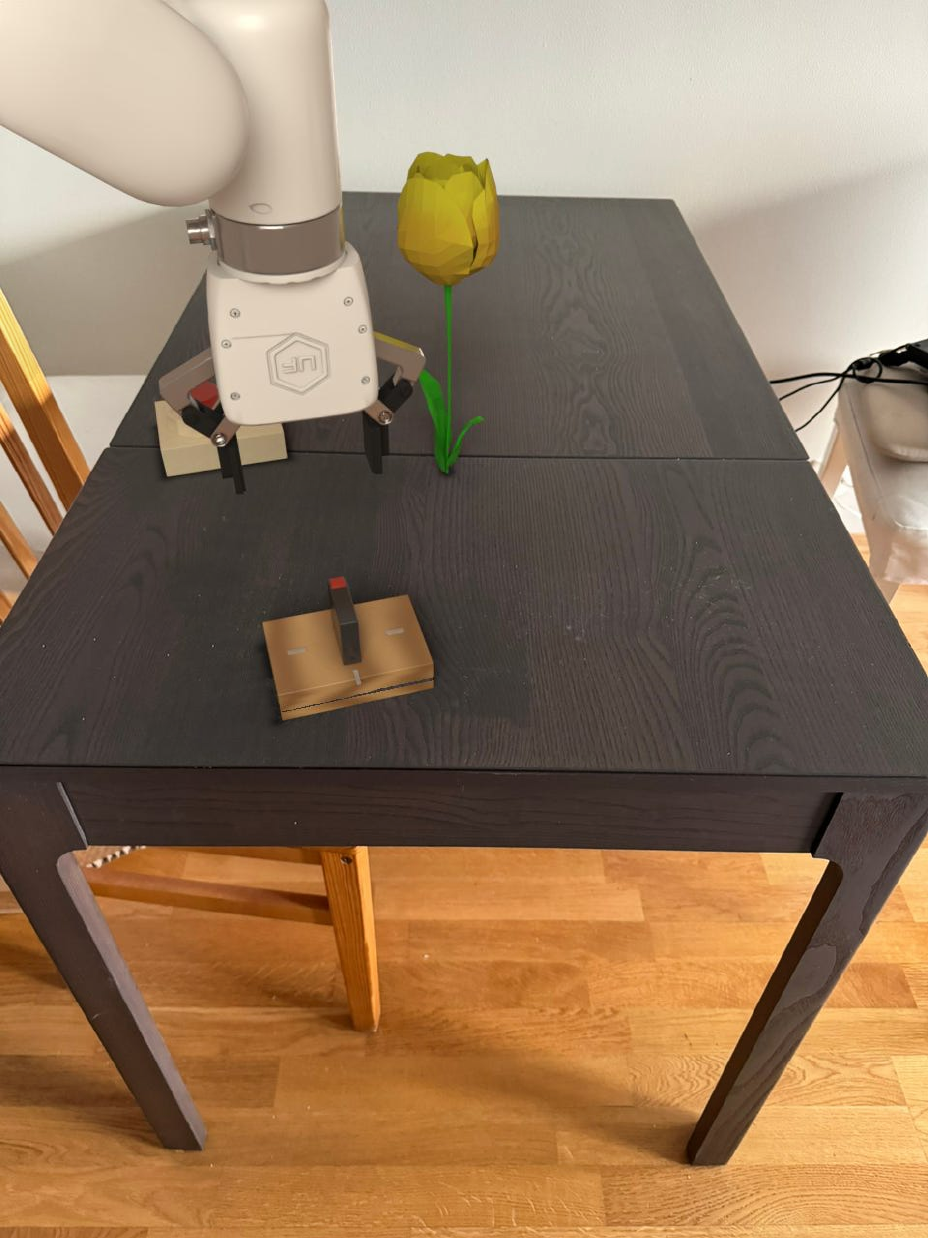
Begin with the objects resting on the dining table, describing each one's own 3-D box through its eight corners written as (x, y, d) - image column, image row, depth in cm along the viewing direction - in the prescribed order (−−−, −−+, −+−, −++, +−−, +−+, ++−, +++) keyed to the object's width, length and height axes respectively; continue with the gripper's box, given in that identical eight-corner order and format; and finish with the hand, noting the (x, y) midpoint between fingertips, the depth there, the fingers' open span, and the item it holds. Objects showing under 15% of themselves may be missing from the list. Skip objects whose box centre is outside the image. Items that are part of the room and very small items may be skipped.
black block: (361, 662, 71) (358, 618, 68) (343, 666, 71) (339, 622, 67) (348, 618, 74) (344, 574, 71) (331, 621, 74) (326, 577, 71)
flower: (491, 452, 97) (507, 144, 75) (484, 499, 91) (499, 180, 70) (409, 445, 97) (402, 137, 76) (397, 492, 91) (385, 173, 70)
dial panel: (283, 727, 70) (278, 700, 68) (265, 642, 77) (260, 615, 74) (436, 694, 73) (436, 667, 71) (406, 615, 79) (405, 587, 77)
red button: (181, 420, 91) (178, 404, 90) (178, 399, 94) (175, 383, 93) (223, 414, 92) (220, 398, 91) (218, 393, 95) (215, 378, 94)
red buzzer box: (167, 476, 92) (156, 434, 89) (160, 427, 98) (150, 386, 95) (287, 458, 95) (281, 416, 91) (273, 412, 101) (268, 370, 98)
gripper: (128, 274, 50) (187, 523, 62) (439, 245, 53) (437, 486, 65) (124, 219, 55) (179, 460, 67) (409, 196, 59) (412, 428, 71)
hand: (307, 472), depth 66 cm, fingers open, 9 cm apart
